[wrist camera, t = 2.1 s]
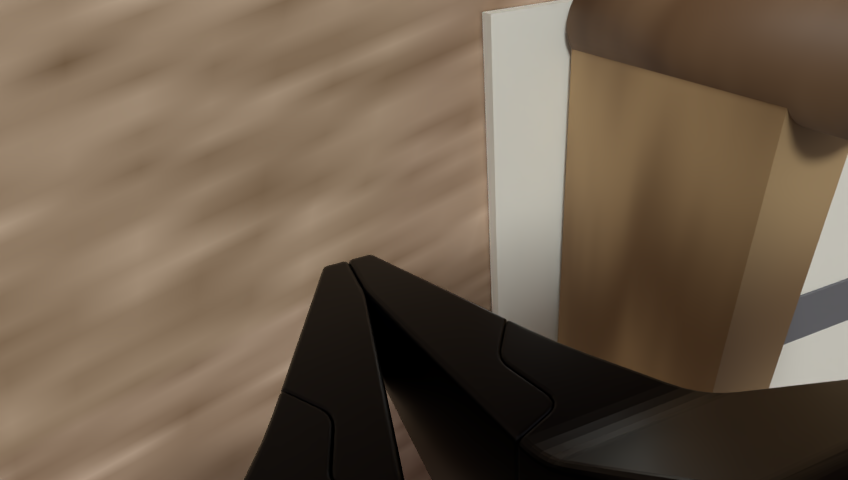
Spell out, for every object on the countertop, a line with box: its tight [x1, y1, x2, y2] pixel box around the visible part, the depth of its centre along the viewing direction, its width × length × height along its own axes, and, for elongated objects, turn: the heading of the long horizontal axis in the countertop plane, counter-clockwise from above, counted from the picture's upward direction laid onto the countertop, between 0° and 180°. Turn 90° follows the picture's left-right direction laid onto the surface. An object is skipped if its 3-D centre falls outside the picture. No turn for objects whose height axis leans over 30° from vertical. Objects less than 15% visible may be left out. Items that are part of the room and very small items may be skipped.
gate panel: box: [557, 0, 848, 393], centre depth 11 cm, size 11×2×6 cm, turn 6°
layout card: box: [482, 0, 848, 388], centre depth 18 cm, size 20×17×1 cm
